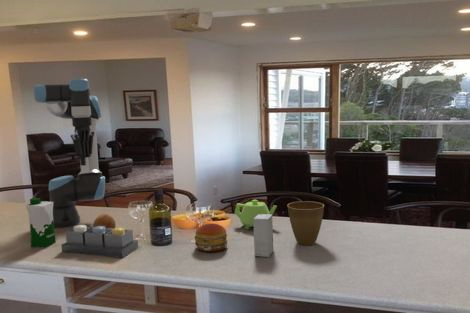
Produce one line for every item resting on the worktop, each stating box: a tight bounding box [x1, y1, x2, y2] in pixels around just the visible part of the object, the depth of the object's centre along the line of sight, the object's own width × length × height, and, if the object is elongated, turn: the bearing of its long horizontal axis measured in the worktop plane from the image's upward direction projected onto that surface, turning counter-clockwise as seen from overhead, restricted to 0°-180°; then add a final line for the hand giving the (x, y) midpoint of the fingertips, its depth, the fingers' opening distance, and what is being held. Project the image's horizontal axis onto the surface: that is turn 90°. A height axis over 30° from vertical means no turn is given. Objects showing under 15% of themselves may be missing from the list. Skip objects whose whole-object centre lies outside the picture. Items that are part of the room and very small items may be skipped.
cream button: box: [73, 224, 87, 232], centre depth 182 cm, size 5×5×5 cm
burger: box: [193, 223, 228, 253], centre depth 178 cm, size 13×14×10 cm
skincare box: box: [253, 214, 274, 258], centre depth 170 cm, size 8×6×15 cm
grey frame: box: [61, 226, 139, 258], centre depth 179 cm, size 12×28×8 cm, turn 73°
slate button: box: [92, 226, 105, 233], centre depth 179 cm, size 5×5×5 cm
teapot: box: [234, 199, 278, 230], centre depth 206 cm, size 20×13×13 cm
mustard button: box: [112, 227, 126, 235], centre depth 176 cm, size 5×5×5 cm
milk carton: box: [25, 197, 57, 248], centre depth 187 cm, size 9×9×20 cm
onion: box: [92, 212, 117, 229], centre depth 198 cm, size 10×10×10 cm
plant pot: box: [287, 200, 325, 246], centre depth 181 cm, size 15×15×16 cm
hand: (85, 172), depth 186 cm, fingers closed
